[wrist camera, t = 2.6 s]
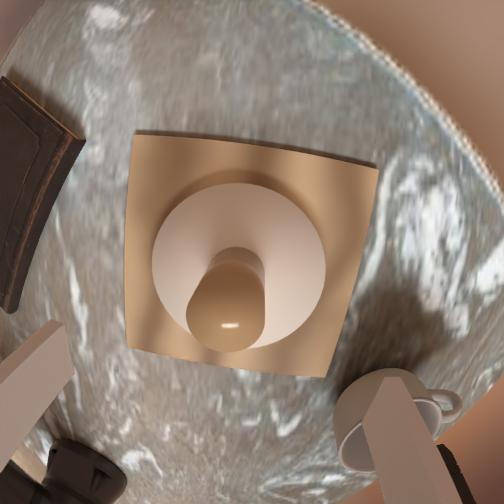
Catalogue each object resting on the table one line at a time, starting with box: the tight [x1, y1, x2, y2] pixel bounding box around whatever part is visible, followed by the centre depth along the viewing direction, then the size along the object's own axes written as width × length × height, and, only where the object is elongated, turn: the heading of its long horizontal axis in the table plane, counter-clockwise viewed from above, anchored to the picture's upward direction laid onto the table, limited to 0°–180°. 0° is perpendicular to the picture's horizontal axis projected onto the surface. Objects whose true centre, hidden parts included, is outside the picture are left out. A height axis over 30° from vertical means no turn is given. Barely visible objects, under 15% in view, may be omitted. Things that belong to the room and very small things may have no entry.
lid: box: [152, 183, 326, 352], centre depth 20 cm, size 14×14×8 cm
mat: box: [124, 135, 379, 377], centre depth 24 cm, size 20×20×1 cm
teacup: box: [333, 368, 462, 473], centre depth 24 cm, size 14×11×8 cm
